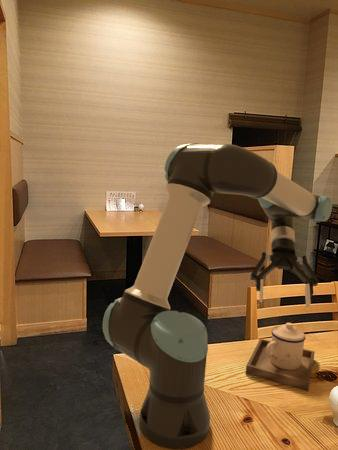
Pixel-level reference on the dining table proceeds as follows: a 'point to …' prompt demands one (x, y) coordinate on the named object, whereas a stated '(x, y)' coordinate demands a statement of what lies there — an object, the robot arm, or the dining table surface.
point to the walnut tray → (266, 370)
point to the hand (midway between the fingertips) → (284, 303)
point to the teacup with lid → (286, 347)
